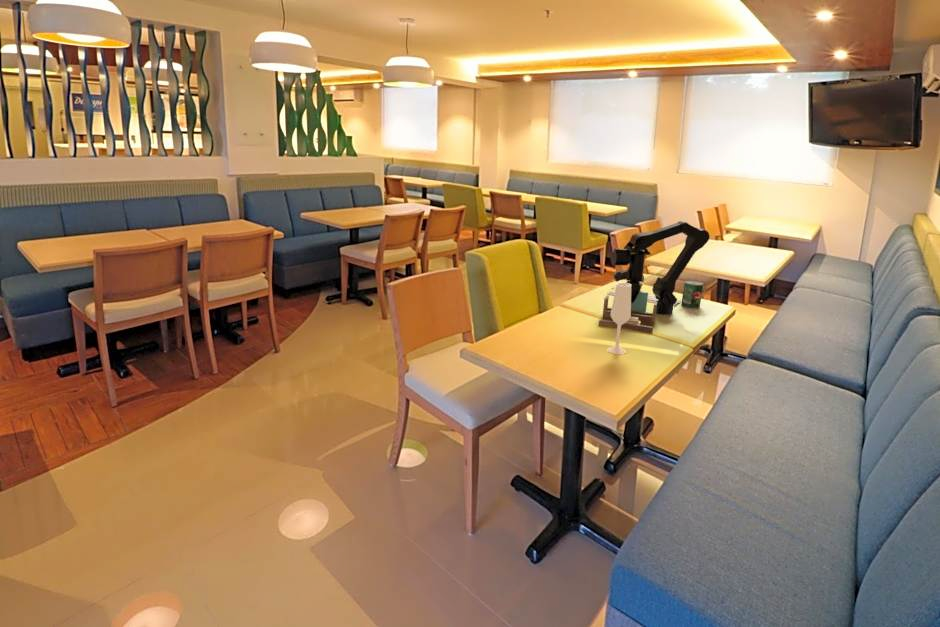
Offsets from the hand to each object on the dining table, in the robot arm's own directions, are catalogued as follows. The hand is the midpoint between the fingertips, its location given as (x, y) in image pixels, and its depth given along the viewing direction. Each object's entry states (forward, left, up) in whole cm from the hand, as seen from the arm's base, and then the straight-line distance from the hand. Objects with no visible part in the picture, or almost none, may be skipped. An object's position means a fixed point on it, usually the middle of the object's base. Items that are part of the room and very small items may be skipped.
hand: (632, 301), depth 225 cm
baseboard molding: (-20, -23, -7) cm, 31 cm away
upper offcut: (+10, +14, -3) cm, 18 cm away
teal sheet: (0, 0, -4) cm, 4 cm away
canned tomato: (-34, -8, -6) cm, 36 cm away
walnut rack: (+8, +11, -6) cm, 14 cm away
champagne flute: (+26, +36, -6) cm, 44 cm away
